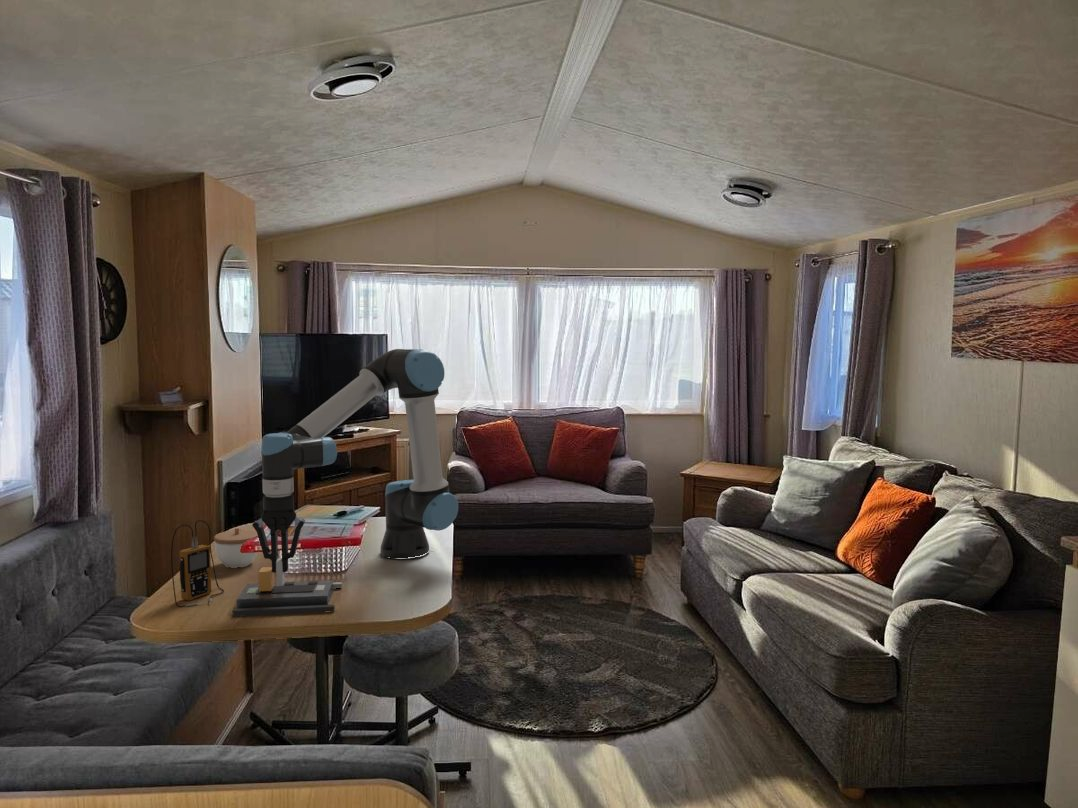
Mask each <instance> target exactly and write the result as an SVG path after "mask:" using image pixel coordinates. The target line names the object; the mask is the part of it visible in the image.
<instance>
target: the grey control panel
mask: <svg viewBox="0 0 1078 808" xmlns="http://www.w3.org/2000/svg"><path fill="white" fill-rule="evenodd" d="M333 583H334V580H310V581H307V580H306V581H284V584H283V586H277V583H276V582H274V587H273V589H272V590H271V591H259V582H258V583H257V582H256V583H246V585H245V587H243V589H242V591H241V592H240V593H239V594H238V596H237V598H236V600H235V601H236V609H245V608H268V607H292V606H315V605H329V604H330V602H329V601H331V599H332V596H333V592H334V589H333ZM331 595H332V596H331ZM330 598H331V599H330ZM328 603H329V604H328Z"/></svg>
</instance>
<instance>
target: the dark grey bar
mask: <svg viewBox="0 0 1078 808" xmlns="http://www.w3.org/2000/svg"><path fill="white" fill-rule="evenodd" d="M335 608H336V607H335V604H328V605H315V606H292V607H268V608H245V609H237V608H234V609H233V610H232V617H252V616H253V617H255V616H275V615H277V616H279V615H299V614H301V613H302V614H316V613H315V612H325V611H334V612H335V610H334V609H335ZM325 613H326V612H325Z"/></svg>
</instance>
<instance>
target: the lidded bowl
mask: <svg viewBox="0 0 1078 808" xmlns="http://www.w3.org/2000/svg"><path fill="white" fill-rule="evenodd" d="M256 536H258V534H257V531H256V530H255V529H245V528H244V529H240V528H239V527H235V528H234V529H233V530H226V531H222V532H220V533H216V534H215V535H214V536H213V540H214V541H213V542H214V549H215V554H216V556H217V559H218V560H219V562H221V563H222V564H223V565H224V566H226V568H228V567H231V568H230V569H238V568H237V567H241V568H245V567H248V566H250V565H251V564H252V562H253V561H254V559H256V558H257V555H258V553H241V552H240V549H241V546H242V544H243V543H244V542H246V541H247V540H249V539H250V538H254V537H256Z"/></svg>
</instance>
